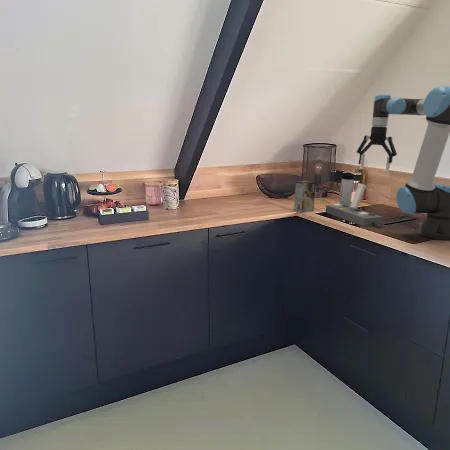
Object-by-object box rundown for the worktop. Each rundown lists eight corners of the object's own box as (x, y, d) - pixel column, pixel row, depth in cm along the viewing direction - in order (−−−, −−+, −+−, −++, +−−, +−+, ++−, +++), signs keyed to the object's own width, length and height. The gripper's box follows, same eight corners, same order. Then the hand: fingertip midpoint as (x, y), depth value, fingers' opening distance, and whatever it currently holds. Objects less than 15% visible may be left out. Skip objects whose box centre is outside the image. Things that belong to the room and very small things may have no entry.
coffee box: (305, 208, 237) (308, 180, 233) (313, 211, 232) (316, 182, 228) (293, 210, 232) (295, 181, 228) (301, 212, 227) (303, 183, 223)
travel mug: (349, 206, 246) (353, 172, 240) (350, 209, 240) (354, 174, 234) (338, 205, 247) (342, 171, 242) (338, 208, 241) (342, 173, 236)
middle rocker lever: (356, 211, 216) (366, 185, 215) (353, 210, 215) (364, 184, 214) (351, 209, 220) (361, 184, 218) (348, 208, 219) (358, 183, 217)
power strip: (390, 227, 203) (391, 217, 201) (372, 229, 198) (373, 218, 197) (341, 211, 234) (342, 201, 233) (325, 212, 230) (326, 203, 229)
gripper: (407, 127, 209) (401, 170, 215) (358, 125, 225) (354, 165, 230) (401, 127, 204) (396, 171, 209) (352, 125, 220) (348, 166, 225)
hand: (374, 168), depth 220 cm, fingers open, 13 cm apart
